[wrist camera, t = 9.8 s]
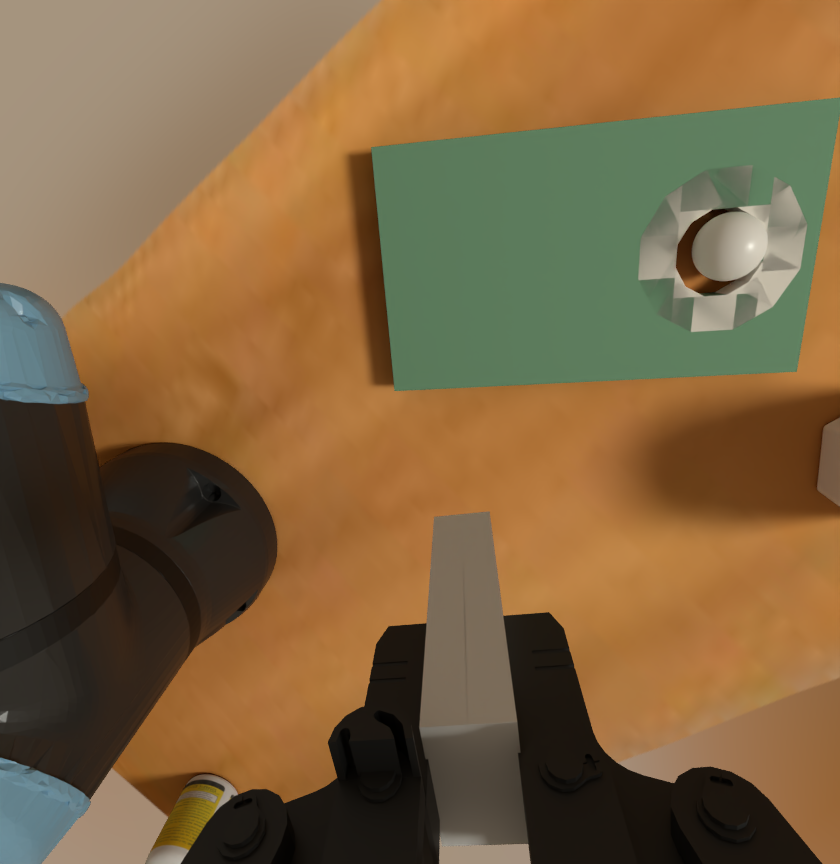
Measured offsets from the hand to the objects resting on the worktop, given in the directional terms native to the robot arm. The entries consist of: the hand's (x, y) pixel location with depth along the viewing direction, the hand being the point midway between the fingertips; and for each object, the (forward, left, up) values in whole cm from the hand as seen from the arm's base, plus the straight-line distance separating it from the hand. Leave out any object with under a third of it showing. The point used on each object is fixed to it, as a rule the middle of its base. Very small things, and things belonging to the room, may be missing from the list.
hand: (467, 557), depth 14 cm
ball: (+14, +7, -20) cm, 25 cm away
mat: (+7, +7, -21) cm, 23 cm away
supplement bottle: (-27, -40, -22) cm, 53 cm away
